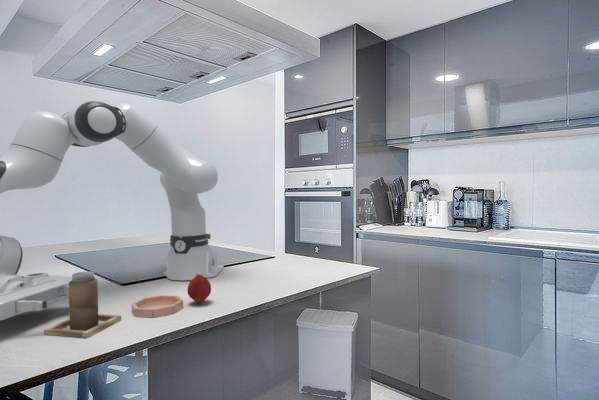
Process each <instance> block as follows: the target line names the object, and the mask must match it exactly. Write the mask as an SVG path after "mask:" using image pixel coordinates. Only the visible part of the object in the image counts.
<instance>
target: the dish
mask: <svg viewBox="0 0 599 400" xmlns="http://www.w3.org/2000/svg"><path fill="white" fill-rule="evenodd" d="M183 308H184V300H183V298H181V297H180V296H178V295H166V294H165V295H164V294H162V295H154V296H148V297H144V298H141V299H138V300H137V301H134V302H132V303H131V312H132V315H134V317H136V318H159V317H163V316H168V315H174V314H175V313H177V312H178V311H180V310H182V309H183Z"/></svg>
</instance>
